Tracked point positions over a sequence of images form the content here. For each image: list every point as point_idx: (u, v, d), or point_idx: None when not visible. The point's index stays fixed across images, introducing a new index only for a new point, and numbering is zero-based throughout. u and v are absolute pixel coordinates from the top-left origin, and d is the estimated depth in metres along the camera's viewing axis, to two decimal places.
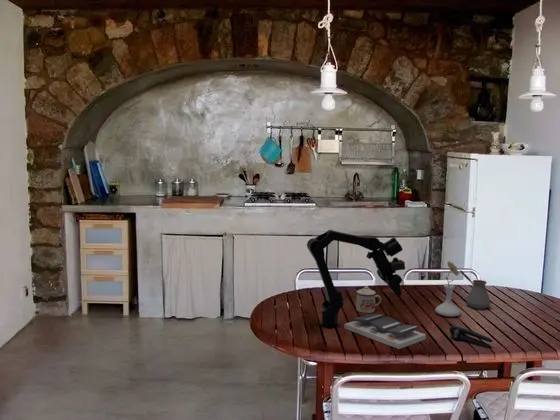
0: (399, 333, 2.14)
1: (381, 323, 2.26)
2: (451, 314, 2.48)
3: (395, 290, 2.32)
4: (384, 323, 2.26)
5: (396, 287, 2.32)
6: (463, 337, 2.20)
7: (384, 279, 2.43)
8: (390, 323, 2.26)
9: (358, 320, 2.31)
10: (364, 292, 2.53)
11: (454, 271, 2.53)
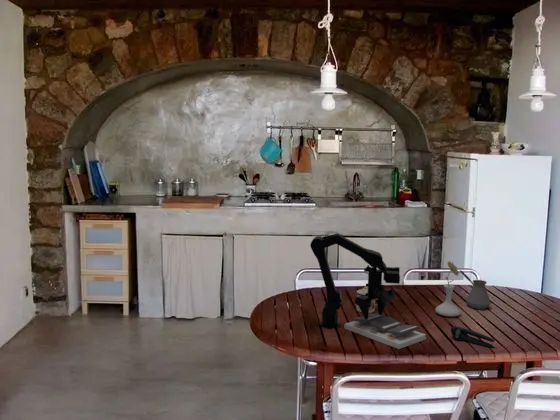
0: (399, 333, 2.14)
1: (381, 323, 2.26)
2: (451, 314, 2.48)
3: (362, 311, 2.29)
4: (384, 323, 2.26)
5: (364, 309, 2.28)
6: (465, 337, 2.20)
7: (378, 301, 2.36)
8: (390, 323, 2.26)
9: (358, 320, 2.31)
10: (364, 292, 2.53)
11: (454, 271, 2.53)
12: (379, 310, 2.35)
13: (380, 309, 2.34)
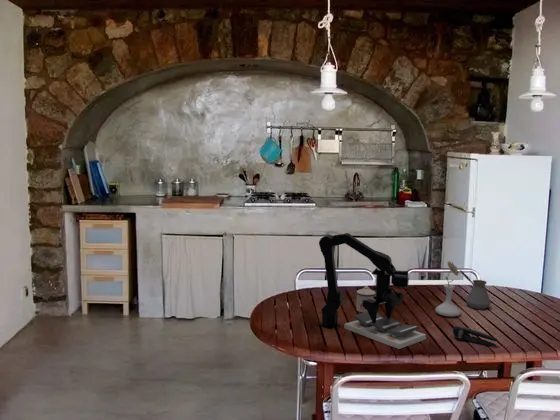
0: (399, 333, 2.14)
1: (381, 323, 2.26)
2: (451, 314, 2.48)
3: (370, 314, 2.25)
4: (384, 323, 2.26)
5: (372, 313, 2.24)
6: (467, 337, 2.19)
7: (386, 304, 2.32)
8: (390, 323, 2.26)
9: (358, 319, 2.30)
10: (364, 292, 2.53)
11: (454, 271, 2.53)
12: (387, 313, 2.32)
13: (388, 312, 2.31)
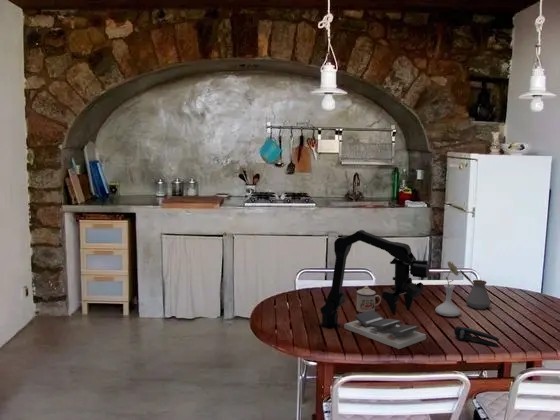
0: (399, 333, 2.14)
1: (380, 323, 2.26)
2: (451, 314, 2.48)
3: (390, 306, 2.17)
4: (384, 322, 2.26)
5: (392, 304, 2.17)
6: (469, 337, 2.19)
7: (405, 295, 2.25)
8: (390, 322, 2.26)
9: (358, 319, 2.30)
10: (364, 292, 2.53)
11: (454, 271, 2.53)
12: (407, 305, 2.24)
13: (408, 304, 2.23)
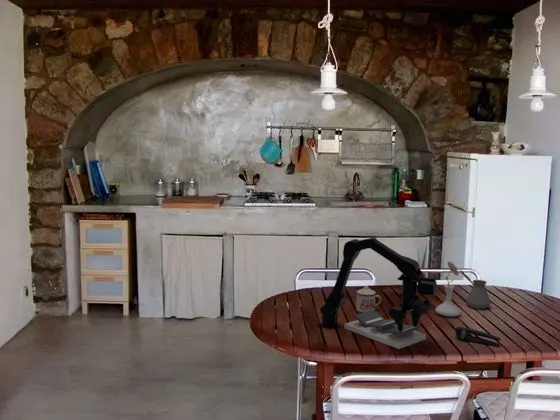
0: (399, 333, 2.14)
1: (380, 323, 2.26)
2: (451, 314, 2.48)
3: (396, 323, 2.15)
4: (384, 322, 2.26)
5: (398, 321, 2.14)
6: (470, 337, 2.19)
7: (412, 312, 2.22)
8: (389, 322, 2.27)
9: (358, 319, 2.30)
10: (364, 292, 2.53)
11: (454, 271, 2.53)
12: (413, 321, 2.21)
13: (415, 320, 2.21)
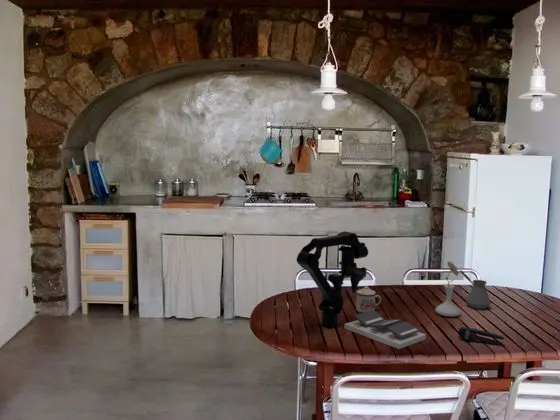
0: (399, 336, 2.14)
1: (380, 323, 2.26)
2: (451, 314, 2.48)
3: (335, 288, 2.37)
4: (384, 322, 2.26)
5: (337, 286, 2.36)
6: (474, 338, 2.19)
7: (351, 279, 2.44)
8: (389, 321, 2.27)
9: (358, 319, 2.30)
10: (364, 292, 2.53)
11: (454, 271, 2.53)
12: (352, 288, 2.44)
13: (353, 287, 2.43)
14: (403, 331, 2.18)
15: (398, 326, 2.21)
